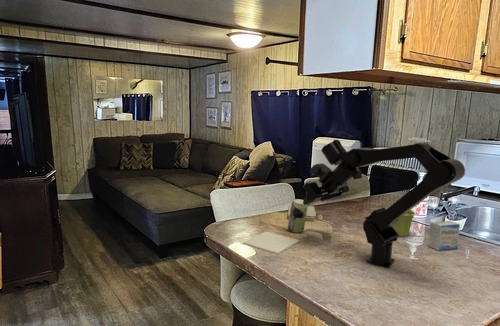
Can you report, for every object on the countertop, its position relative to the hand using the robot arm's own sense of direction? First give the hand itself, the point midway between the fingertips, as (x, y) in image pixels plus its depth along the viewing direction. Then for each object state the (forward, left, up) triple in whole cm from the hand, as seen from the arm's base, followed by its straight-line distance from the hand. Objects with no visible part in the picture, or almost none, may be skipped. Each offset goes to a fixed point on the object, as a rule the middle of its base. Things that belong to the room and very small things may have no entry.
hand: (312, 201), depth 122 cm
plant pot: (+24, -24, -13) cm, 36 cm away
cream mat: (-14, +8, -13) cm, 21 cm away
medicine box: (+19, -39, -13) cm, 45 cm away
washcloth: (+22, +16, -13) cm, 30 cm away
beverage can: (+2, +7, -13) cm, 15 cm away
